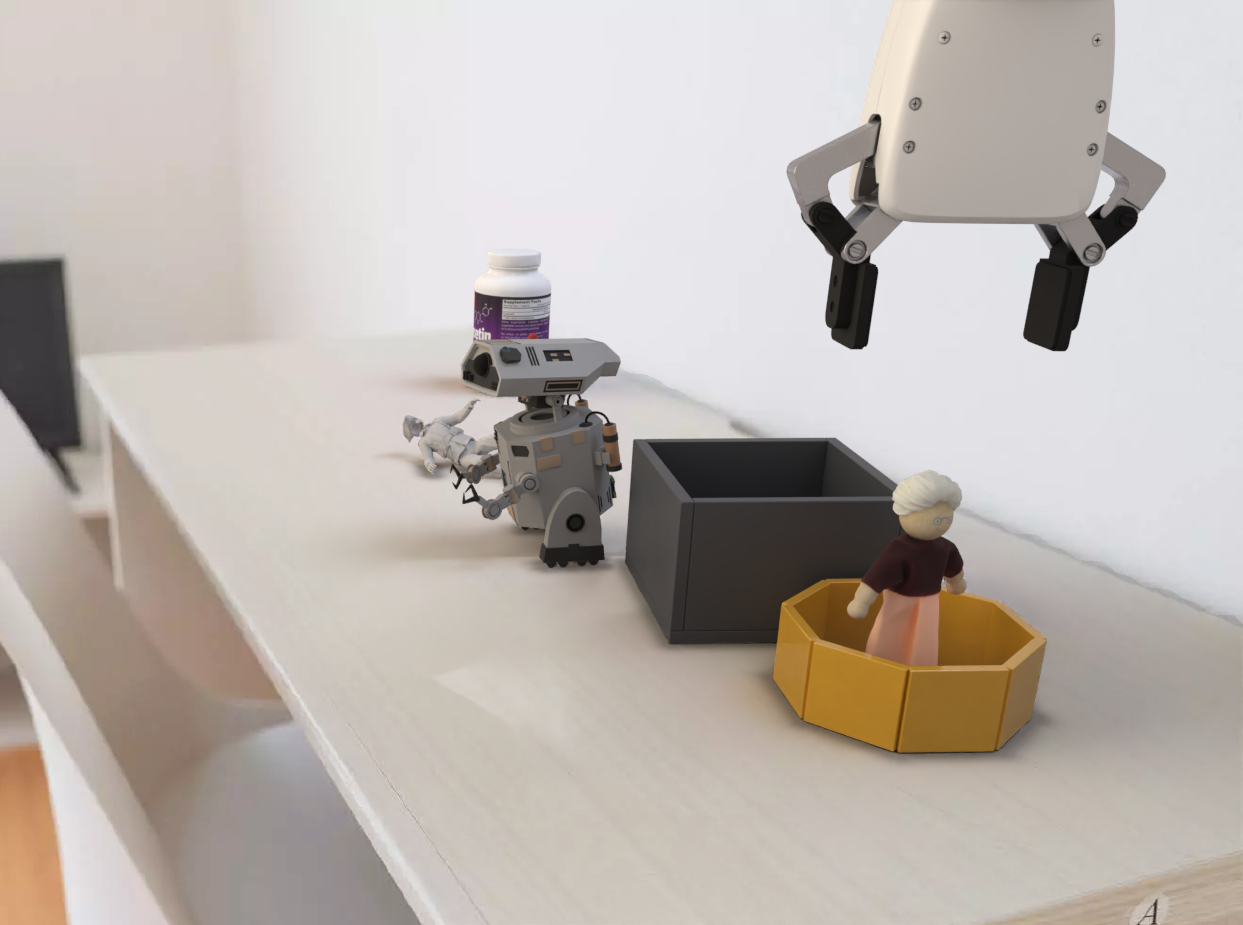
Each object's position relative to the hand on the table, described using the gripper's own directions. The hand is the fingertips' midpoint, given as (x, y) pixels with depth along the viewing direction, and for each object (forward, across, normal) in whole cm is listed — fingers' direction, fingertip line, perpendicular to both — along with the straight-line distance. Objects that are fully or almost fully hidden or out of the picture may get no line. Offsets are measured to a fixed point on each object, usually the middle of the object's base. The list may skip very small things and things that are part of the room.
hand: (946, 345), depth 62 cm
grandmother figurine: (+19, -1, 0) cm, 19 cm away
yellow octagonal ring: (+19, -1, 0) cm, 19 cm away
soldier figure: (+20, +19, -44) cm, 52 cm away
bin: (+19, +3, -14) cm, 24 cm away
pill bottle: (+19, +12, -74) cm, 78 cm away
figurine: (+20, +16, -24) cm, 35 cm away
